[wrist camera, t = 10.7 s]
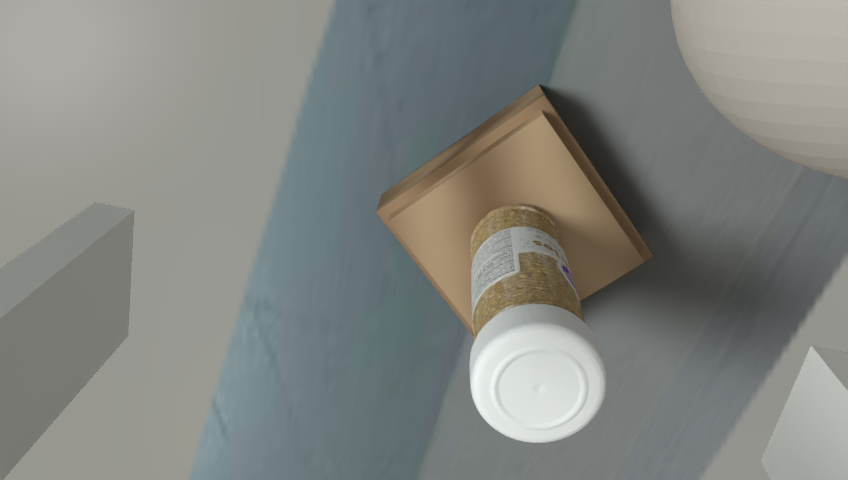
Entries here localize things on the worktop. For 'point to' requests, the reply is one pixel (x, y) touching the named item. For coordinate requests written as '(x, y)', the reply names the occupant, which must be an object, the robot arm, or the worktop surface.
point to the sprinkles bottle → (530, 331)
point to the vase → (774, 72)
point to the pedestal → (512, 201)
